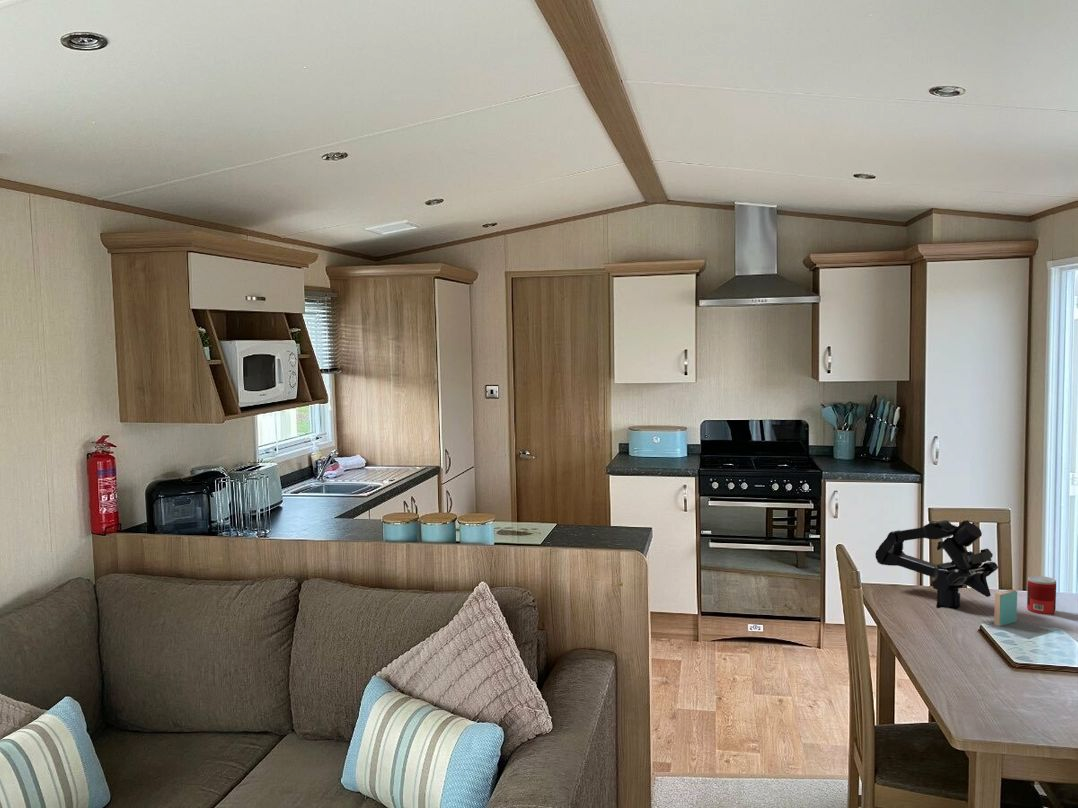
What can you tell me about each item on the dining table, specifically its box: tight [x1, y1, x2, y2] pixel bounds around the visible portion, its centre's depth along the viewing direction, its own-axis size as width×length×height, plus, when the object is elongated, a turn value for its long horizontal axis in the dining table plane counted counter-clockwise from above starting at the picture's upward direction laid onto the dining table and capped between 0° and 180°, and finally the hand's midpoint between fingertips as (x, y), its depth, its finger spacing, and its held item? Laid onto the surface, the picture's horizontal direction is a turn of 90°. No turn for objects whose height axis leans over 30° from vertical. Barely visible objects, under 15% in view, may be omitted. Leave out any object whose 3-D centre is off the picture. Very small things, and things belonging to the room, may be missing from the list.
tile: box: [993, 588, 1018, 626], centre depth 262 cm, size 2×8×10 cm, turn 117°
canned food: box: [1026, 575, 1057, 616], centre depth 273 cm, size 8×8×11 cm
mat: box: [985, 619, 1054, 639], centre depth 258 cm, size 14×12×1 cm
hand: (989, 596), depth 266 cm, fingers closed
